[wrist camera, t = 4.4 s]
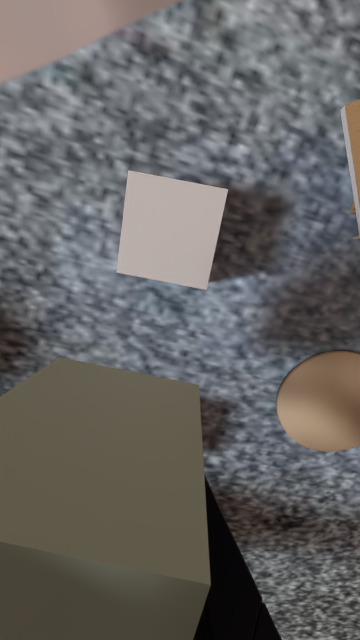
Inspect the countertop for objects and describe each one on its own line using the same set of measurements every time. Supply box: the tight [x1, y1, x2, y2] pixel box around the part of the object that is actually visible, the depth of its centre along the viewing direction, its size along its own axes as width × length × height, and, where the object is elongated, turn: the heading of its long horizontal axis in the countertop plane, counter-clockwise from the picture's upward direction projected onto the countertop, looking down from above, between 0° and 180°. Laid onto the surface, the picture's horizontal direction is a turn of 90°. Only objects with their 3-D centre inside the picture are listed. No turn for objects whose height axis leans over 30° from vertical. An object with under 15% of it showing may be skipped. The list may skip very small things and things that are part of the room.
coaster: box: [276, 351, 360, 452], centre depth 18 cm, size 9×9×1 cm
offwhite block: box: [117, 170, 228, 290], centre depth 14 cm, size 5×5×5 cm
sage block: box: [0, 357, 211, 640], centre depth 6 cm, size 5×5×5 cm
